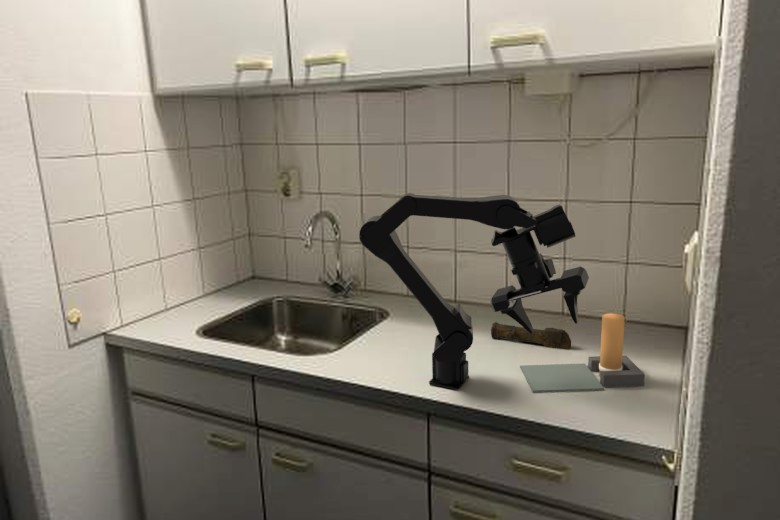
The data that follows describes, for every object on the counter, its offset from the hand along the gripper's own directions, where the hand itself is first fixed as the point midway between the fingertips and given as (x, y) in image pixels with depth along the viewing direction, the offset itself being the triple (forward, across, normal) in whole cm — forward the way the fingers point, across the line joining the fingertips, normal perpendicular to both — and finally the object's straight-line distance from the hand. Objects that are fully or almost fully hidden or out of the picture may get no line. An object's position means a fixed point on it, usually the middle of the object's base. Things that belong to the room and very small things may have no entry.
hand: (554, 327), depth 117 cm
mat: (+12, +4, -2) cm, 12 cm away
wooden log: (+11, +14, -19) cm, 26 cm away
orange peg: (+16, -5, -6) cm, 18 cm away
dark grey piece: (+16, -5, -6) cm, 18 cm away
